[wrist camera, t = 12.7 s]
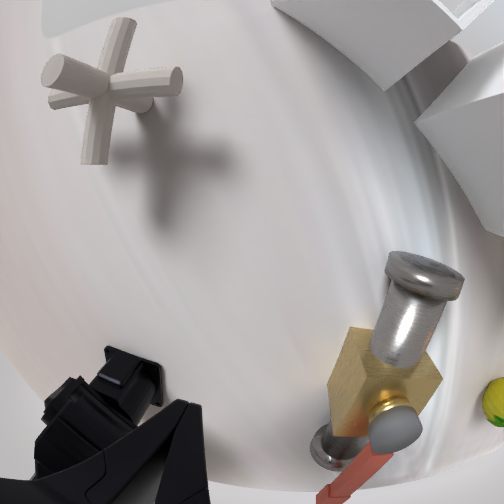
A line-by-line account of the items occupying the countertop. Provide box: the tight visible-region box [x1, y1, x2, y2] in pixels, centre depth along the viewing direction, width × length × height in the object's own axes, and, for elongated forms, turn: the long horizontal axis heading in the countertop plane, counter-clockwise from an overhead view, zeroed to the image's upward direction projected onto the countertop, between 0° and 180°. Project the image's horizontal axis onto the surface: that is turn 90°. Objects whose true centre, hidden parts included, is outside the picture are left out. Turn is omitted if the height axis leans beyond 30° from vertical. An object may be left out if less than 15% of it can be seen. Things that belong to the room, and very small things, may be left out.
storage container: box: [271, 0, 504, 238], centre depth 9 cm, size 25×11×11 cm, turn 47°
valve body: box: [310, 251, 465, 471], centre depth 18 cm, size 20×6×7 cm, turn 171°
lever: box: [316, 406, 423, 504], centre depth 15 cm, size 15×4×2 cm, turn 170°
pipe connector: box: [41, 17, 183, 165], centre depth 13 cm, size 10×10×10 cm
